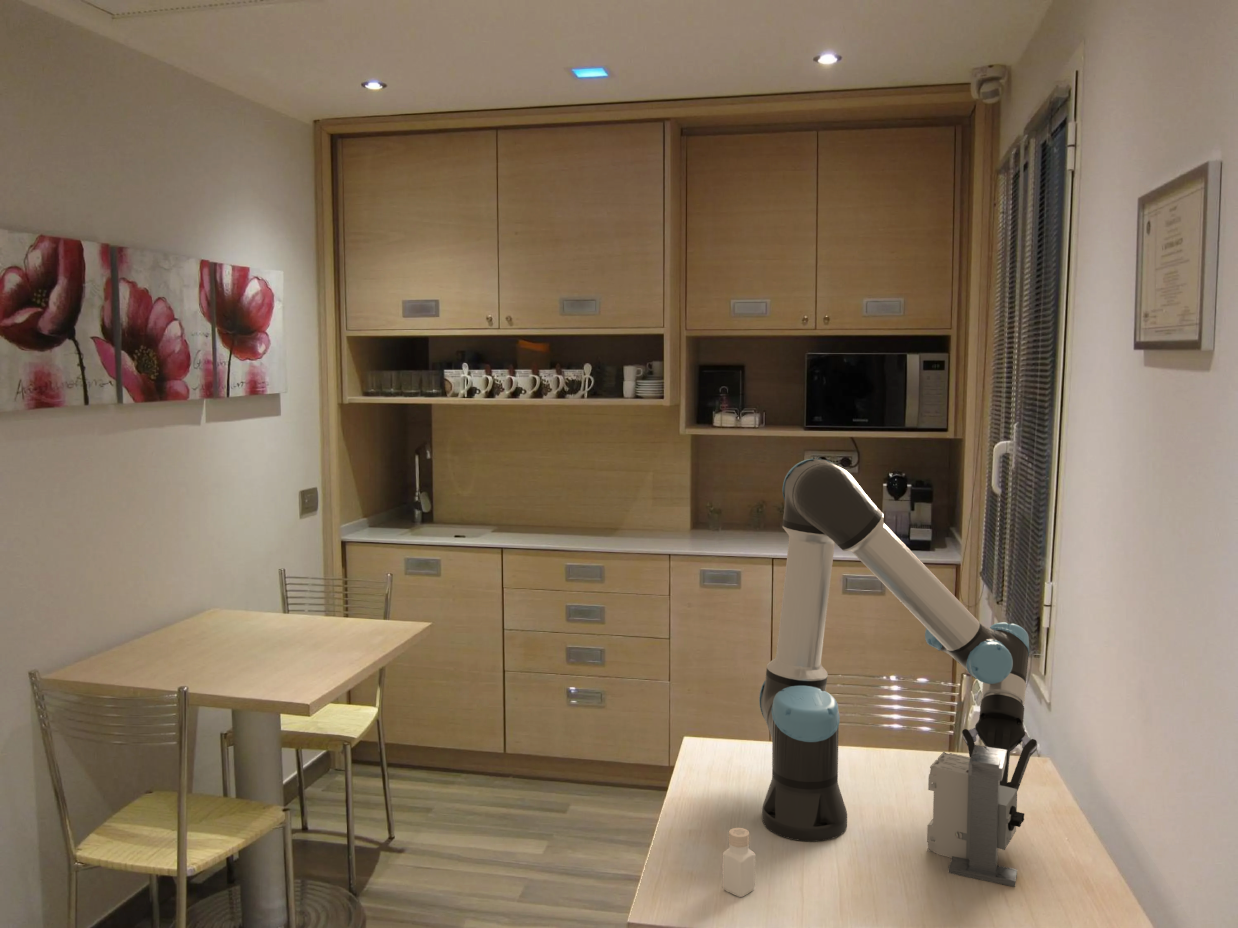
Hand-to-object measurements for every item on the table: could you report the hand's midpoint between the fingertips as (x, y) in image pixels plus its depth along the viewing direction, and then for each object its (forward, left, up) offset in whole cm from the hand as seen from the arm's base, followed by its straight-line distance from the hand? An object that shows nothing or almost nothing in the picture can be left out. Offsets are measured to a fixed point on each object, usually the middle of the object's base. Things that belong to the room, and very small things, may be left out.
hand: (991, 826), depth 168 cm
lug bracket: (0, -9, -3) cm, 9 cm away
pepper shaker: (-34, -33, -3) cm, 48 cm away
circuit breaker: (-2, -5, -3) cm, 6 cm away
